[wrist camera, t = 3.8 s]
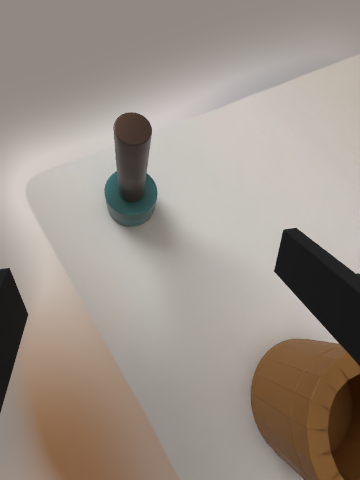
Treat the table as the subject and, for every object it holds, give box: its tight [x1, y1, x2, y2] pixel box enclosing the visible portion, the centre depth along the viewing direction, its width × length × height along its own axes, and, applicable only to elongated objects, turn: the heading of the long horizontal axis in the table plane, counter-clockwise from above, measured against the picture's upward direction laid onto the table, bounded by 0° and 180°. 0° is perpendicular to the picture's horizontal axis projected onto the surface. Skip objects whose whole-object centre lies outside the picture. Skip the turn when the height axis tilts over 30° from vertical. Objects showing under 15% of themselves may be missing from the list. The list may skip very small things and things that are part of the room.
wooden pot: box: [251, 339, 360, 480], centre depth 24 cm, size 11×11×9 cm
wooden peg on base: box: [105, 113, 157, 226], centre depth 24 cm, size 5×5×13 cm
